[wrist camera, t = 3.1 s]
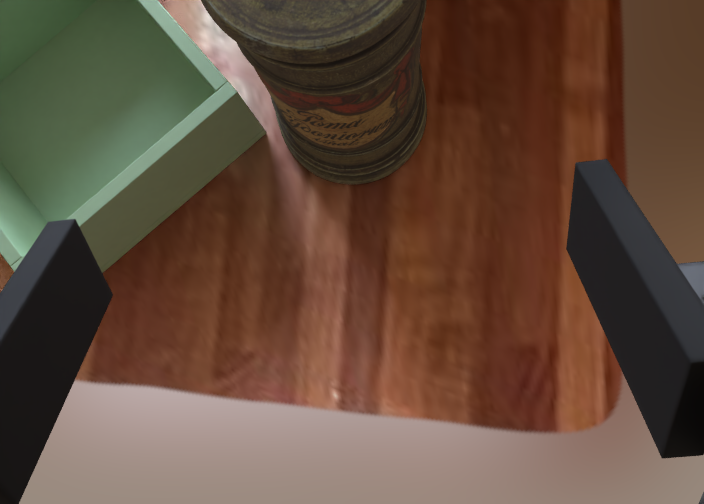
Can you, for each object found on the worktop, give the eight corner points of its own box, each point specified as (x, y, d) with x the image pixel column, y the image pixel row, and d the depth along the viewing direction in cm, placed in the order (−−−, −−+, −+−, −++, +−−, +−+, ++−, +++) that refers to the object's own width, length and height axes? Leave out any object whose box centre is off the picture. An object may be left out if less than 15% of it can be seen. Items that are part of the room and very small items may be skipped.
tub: (-44, 117, 40) (-134, 75, 33) (127, -28, 40) (71, -99, 34) (87, 286, 38) (18, 278, 31) (267, 133, 38) (237, 92, 31)
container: (279, 50, 39) (172, -184, 21) (422, 40, 38) (439, -211, 20) (282, 190, 38) (171, 69, 20) (429, 182, 37) (453, 50, 19)
